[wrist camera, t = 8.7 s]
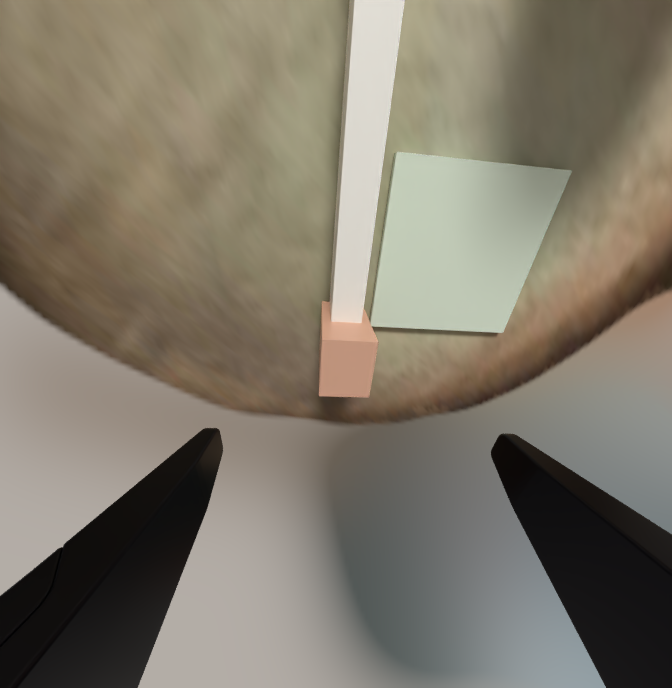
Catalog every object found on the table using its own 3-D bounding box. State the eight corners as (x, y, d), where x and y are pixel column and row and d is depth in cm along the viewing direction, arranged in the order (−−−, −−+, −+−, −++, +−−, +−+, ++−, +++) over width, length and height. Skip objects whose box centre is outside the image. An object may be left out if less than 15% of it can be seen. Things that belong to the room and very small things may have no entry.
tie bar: (319, 345, 16) (318, 396, 12) (350, -253, 7) (396, -993, 3) (356, 347, 16) (368, 397, 12) (431, -234, 7) (595, -898, 3)
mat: (368, 323, 16) (369, 326, 16) (394, 153, 12) (396, 151, 12) (499, 330, 17) (502, 332, 17) (565, 171, 13) (572, 170, 13)
